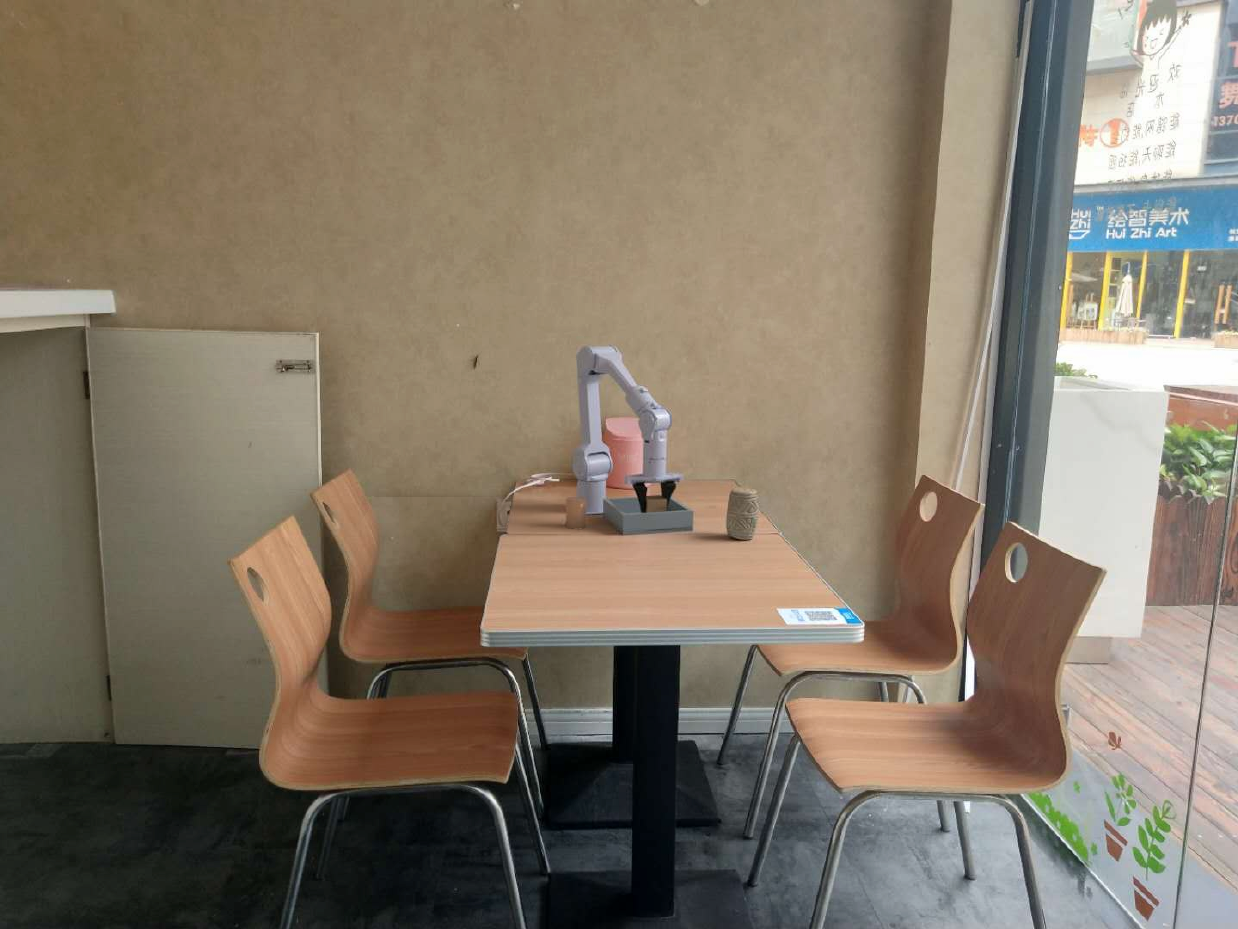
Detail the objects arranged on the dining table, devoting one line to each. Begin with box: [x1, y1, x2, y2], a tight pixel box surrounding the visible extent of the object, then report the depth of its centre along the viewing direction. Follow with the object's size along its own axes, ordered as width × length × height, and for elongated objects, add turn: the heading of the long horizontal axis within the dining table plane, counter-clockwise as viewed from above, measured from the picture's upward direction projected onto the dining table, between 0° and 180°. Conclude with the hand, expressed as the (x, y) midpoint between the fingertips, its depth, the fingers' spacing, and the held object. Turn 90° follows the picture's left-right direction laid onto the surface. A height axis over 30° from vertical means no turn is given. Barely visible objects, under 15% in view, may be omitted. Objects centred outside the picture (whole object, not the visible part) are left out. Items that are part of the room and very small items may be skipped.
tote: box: [602, 494, 694, 536], centre depth 228 cm, size 18×18×5 cm
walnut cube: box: [641, 494, 667, 513], centre depth 223 cm, size 5×5×5 cm
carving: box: [725, 486, 759, 541], centre depth 216 cm, size 6×8×12 cm
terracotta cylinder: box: [565, 496, 587, 529], centre depth 225 cm, size 5×5×7 cm
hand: (653, 511), depth 223 cm, fingers closed on walnut cube, 5 cm apart
